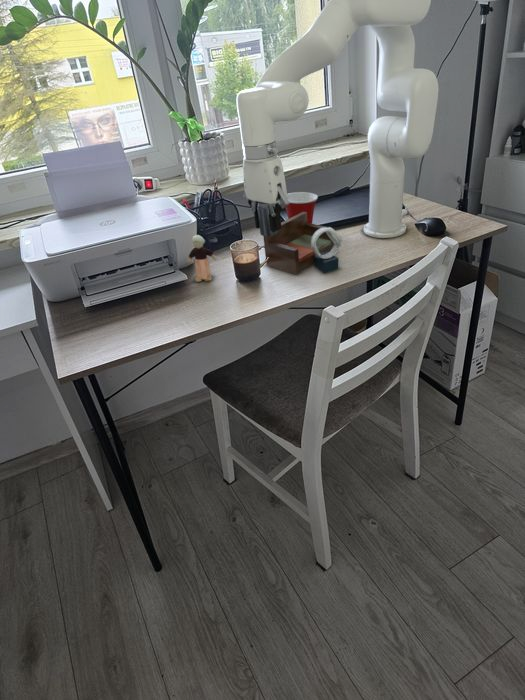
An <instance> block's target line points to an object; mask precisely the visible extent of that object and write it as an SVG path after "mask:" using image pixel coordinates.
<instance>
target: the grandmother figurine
mask: <svg viewBox="0 0 525 700" xmlns="http://www.w3.org/2000/svg"><path fill="white" fill-rule="evenodd" d="M191 243H192V245H193V248H192V249H191V251H190V252H189V253H188V259H187V262H188V263H189V264H190V263H192V260H193V258H194V267H195V274H196V277H195V283H199V282H202V281H203V280H204V281H205V282H209V281H212V276H211V275H212V274H211V267H210V262H209V258H208V257H211V258H212V259H211V260H213V261H215V260H217V257H216V256H215V253H214V251H213V250H211V249H209V248H207V247H204V244H205V243H206V240H205V239H204V238H203V236H201V235H199V234H195V235H193V236H192V238H191Z"/></svg>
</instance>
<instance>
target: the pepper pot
mask: <svg viewBox="0 0 525 700" xmlns="http://www.w3.org/2000/svg"><path fill="white" fill-rule="evenodd" d="M274 208H276V205H274ZM257 210H258V218H259V226H260V228H259V233H260V235H261V236H262V237H263V236H273V235H275V234H277V233H278V230H277V231H275V232H271V227H270V216H272V215H271V213H270V209H269V205H268V204H267V203H262V202H258V206H257Z"/></svg>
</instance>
